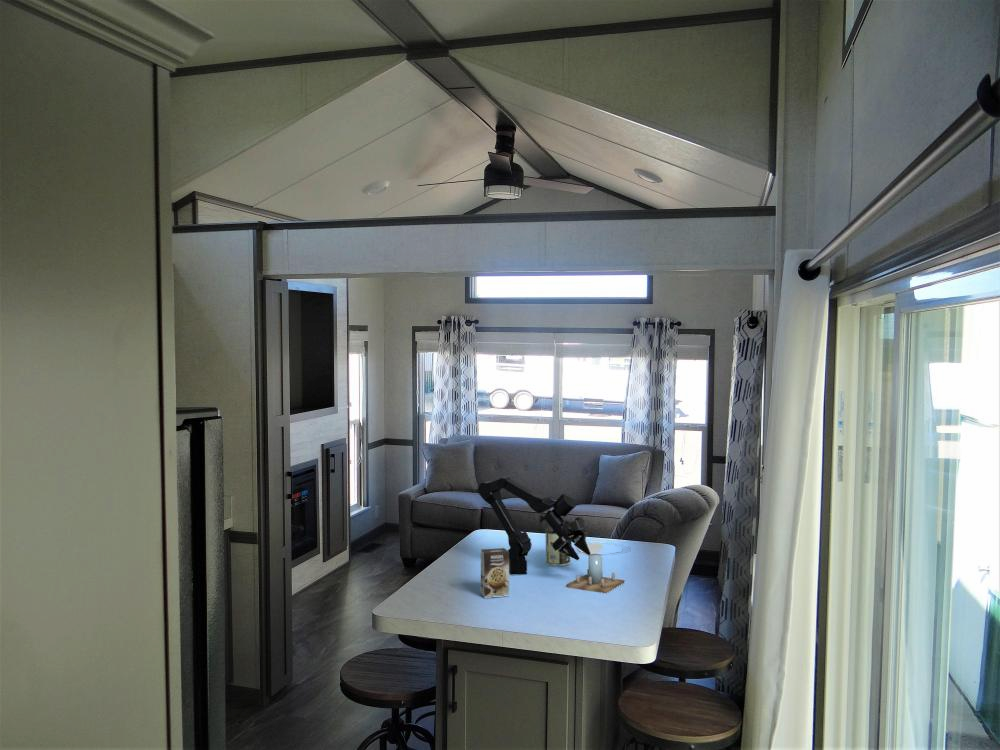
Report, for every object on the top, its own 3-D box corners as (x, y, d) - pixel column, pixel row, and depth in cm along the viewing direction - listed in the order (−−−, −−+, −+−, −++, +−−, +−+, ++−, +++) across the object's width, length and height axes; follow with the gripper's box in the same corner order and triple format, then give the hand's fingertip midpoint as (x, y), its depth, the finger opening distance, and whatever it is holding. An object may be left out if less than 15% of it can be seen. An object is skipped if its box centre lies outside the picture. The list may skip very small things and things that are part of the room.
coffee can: (569, 560, 333) (569, 526, 333) (571, 566, 323) (571, 531, 323) (544, 560, 333) (544, 526, 333) (545, 566, 323) (545, 531, 323)
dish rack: (566, 586, 292) (566, 576, 292) (585, 577, 306) (585, 566, 306) (606, 593, 284) (606, 582, 284) (624, 582, 297) (624, 572, 297)
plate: (557, 546, 360) (557, 544, 360) (612, 540, 370) (612, 539, 370) (585, 559, 334) (585, 558, 334) (643, 553, 344) (643, 552, 344)
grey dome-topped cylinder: (595, 584, 291) (595, 557, 291) (585, 581, 295) (585, 555, 295) (605, 582, 294) (604, 555, 294) (595, 579, 298) (595, 552, 298)
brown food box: (484, 599, 278) (484, 552, 278) (480, 594, 284) (479, 548, 284) (509, 596, 281) (509, 551, 280) (504, 591, 287) (504, 547, 287)
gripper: (559, 514, 292) (586, 548, 286) (582, 506, 308) (608, 538, 302) (540, 533, 296) (567, 567, 291) (564, 525, 312) (589, 556, 306)
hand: (584, 556), depth 297 cm, fingers open, 9 cm apart
